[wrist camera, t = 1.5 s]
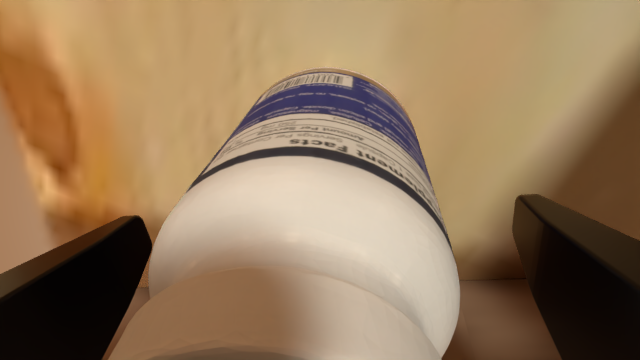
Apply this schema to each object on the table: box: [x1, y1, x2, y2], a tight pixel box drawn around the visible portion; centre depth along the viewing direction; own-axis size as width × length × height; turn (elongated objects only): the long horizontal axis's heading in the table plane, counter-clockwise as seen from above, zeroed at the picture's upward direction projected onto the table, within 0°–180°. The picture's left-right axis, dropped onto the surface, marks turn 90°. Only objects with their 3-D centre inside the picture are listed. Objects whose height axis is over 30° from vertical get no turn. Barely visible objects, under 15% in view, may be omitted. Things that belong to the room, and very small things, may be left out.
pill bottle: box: [108, 67, 460, 360], centre depth 9 cm, size 6×6×10 cm
